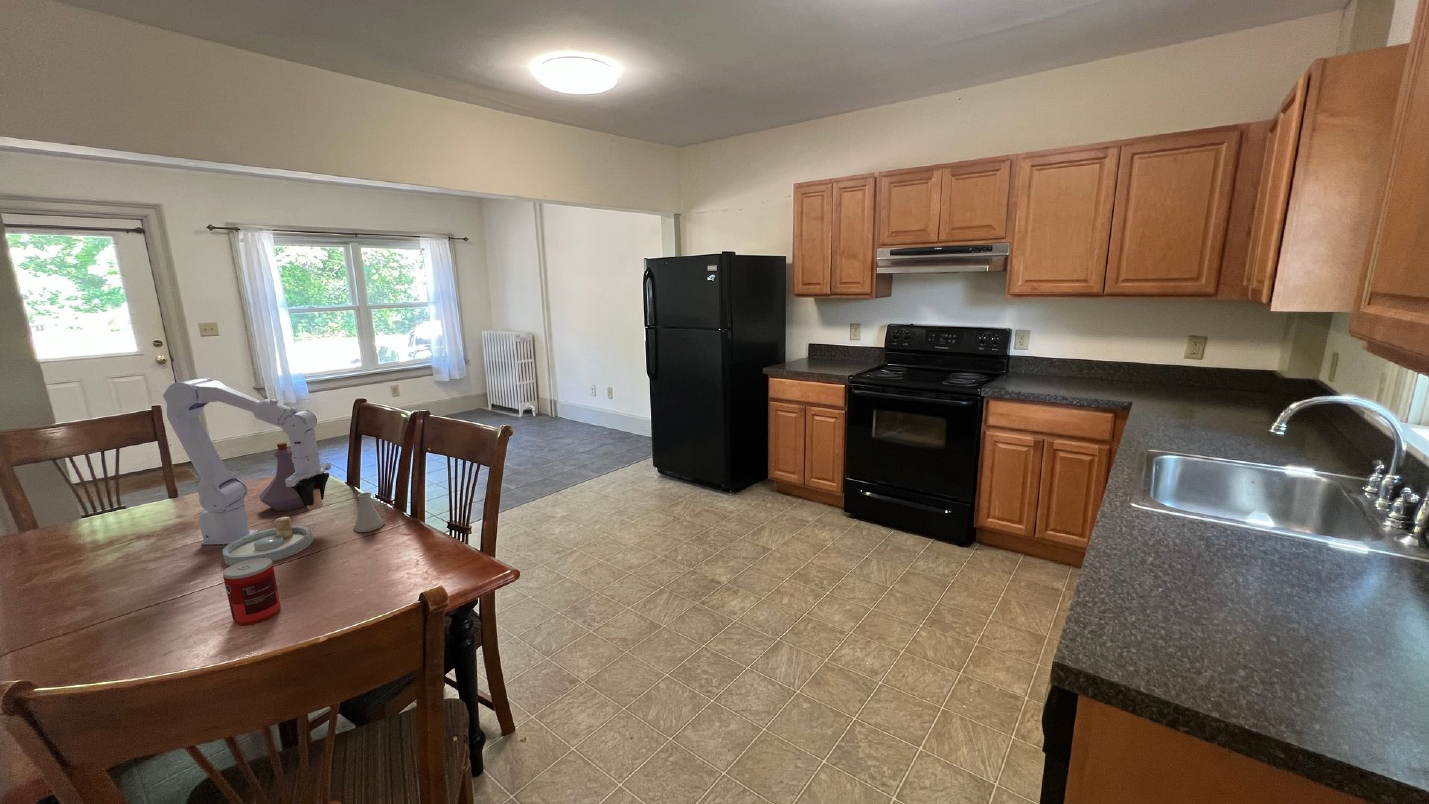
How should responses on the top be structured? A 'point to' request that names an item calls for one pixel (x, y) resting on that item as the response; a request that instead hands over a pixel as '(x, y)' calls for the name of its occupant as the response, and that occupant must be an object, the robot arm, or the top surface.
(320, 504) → the peach rounded cylinder
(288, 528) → the tan rounded cylinder
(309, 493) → the robot arm
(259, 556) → the groove tray
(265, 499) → the flask
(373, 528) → the flask
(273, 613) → the canned food
